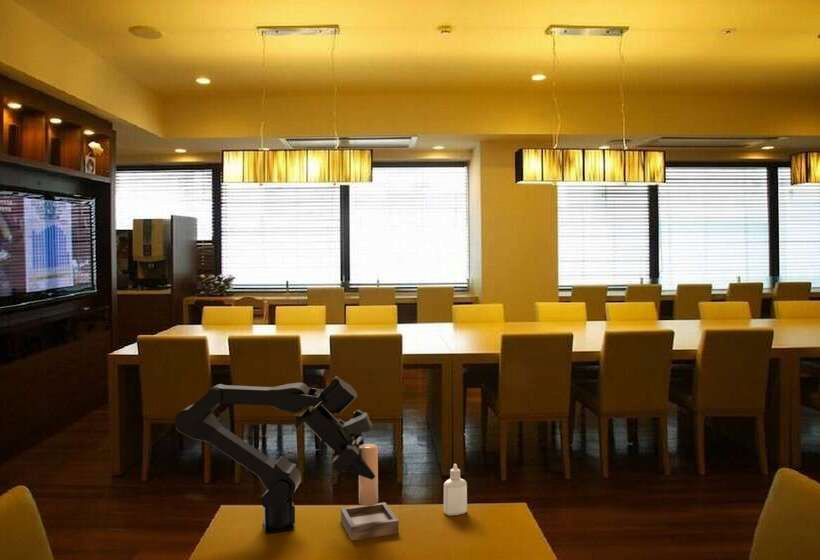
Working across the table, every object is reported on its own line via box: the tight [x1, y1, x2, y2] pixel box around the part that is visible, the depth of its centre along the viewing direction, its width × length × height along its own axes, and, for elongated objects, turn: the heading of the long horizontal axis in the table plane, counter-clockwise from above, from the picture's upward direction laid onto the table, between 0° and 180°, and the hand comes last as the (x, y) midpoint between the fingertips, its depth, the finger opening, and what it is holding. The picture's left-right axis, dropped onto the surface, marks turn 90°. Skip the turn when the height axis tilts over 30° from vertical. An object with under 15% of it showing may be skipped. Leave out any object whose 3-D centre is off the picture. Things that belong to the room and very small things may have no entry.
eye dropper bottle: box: [443, 463, 468, 517], centre depth 155 cm, size 4×6×12 cm
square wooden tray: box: [340, 501, 400, 541], centre depth 147 cm, size 11×11×3 cm
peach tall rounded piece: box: [358, 443, 379, 506], centre depth 147 cm, size 4×4×13 cm
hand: (374, 474), depth 147 cm, fingers closed on peach tall rounded piece, 4 cm apart
